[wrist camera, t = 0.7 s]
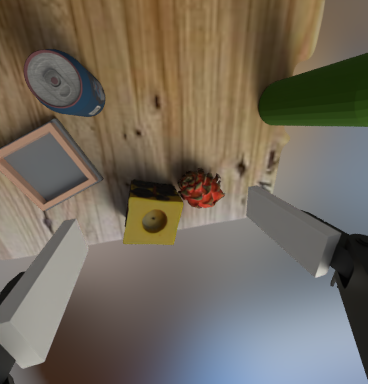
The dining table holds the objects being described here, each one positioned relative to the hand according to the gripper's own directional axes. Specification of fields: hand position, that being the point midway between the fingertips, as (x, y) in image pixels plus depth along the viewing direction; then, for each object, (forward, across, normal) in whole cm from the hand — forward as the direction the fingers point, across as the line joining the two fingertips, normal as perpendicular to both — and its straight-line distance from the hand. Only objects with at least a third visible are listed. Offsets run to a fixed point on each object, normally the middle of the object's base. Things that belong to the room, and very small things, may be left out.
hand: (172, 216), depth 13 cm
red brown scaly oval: (+26, +10, -8) cm, 29 cm away
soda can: (+27, -10, +12) cm, 31 cm away
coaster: (+26, -19, 0) cm, 33 cm away
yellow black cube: (+26, -2, -11) cm, 29 cm away
